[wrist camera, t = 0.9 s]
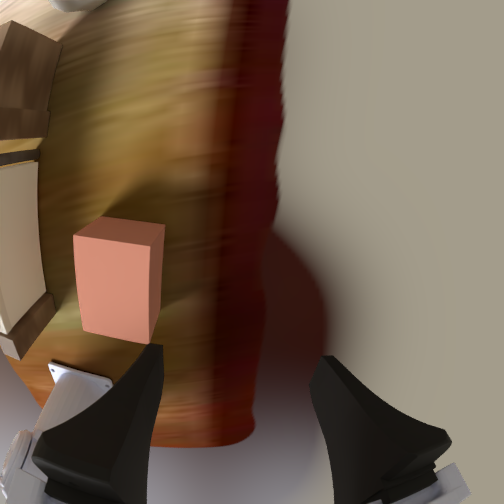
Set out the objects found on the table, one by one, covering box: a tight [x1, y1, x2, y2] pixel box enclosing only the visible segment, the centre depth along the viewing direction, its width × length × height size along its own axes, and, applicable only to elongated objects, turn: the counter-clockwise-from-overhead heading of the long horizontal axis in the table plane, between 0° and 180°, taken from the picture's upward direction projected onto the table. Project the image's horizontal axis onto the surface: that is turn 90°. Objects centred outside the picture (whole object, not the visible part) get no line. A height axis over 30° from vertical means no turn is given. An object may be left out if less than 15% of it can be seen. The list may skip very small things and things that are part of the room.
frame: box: [0, 20, 63, 361], centre depth 12 cm, size 23×2×8 cm, turn 170°
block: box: [73, 216, 165, 344], centre depth 17 cm, size 7×5×4 cm
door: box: [0, 162, 46, 334], centre depth 14 cm, size 11×1×7 cm, turn 170°
